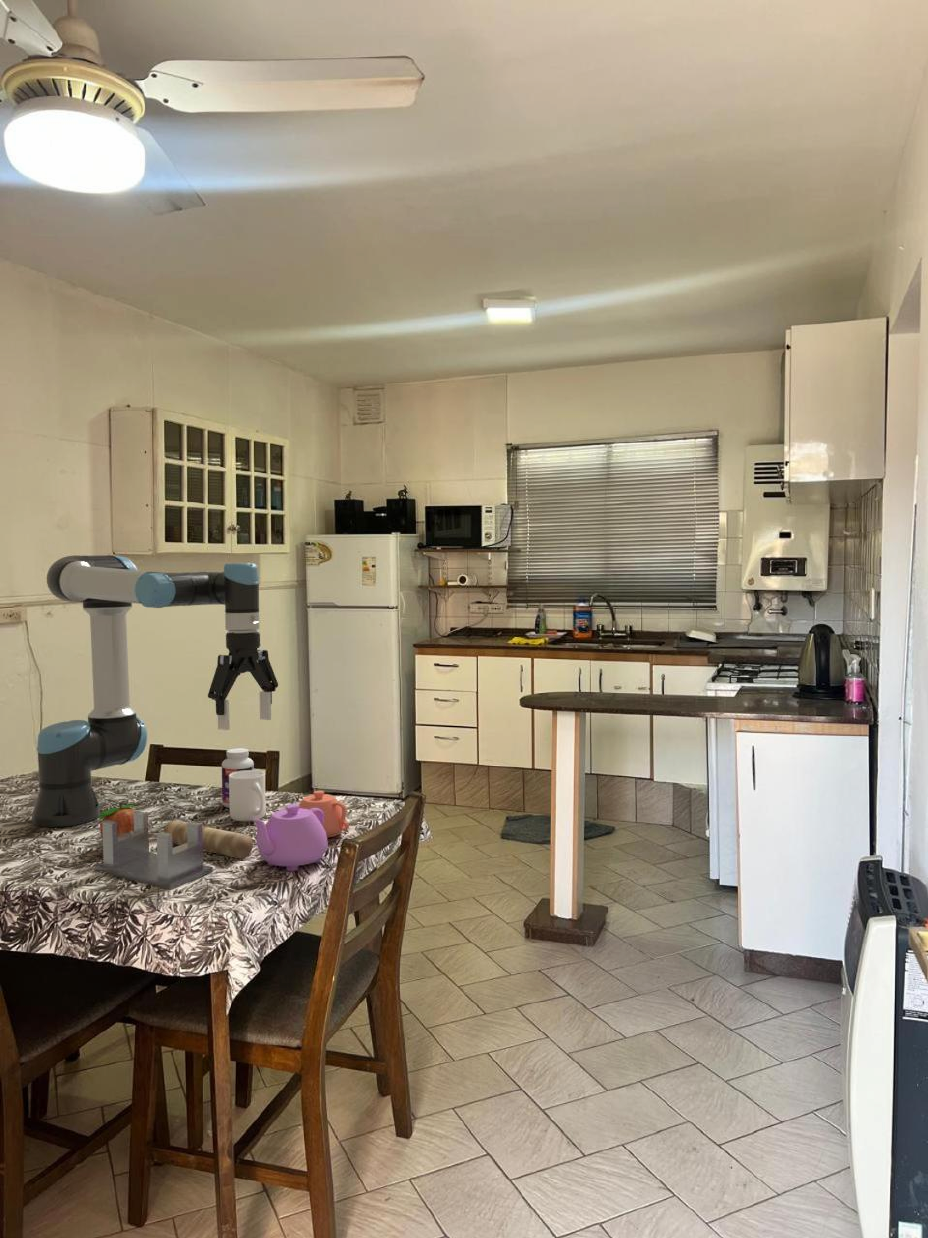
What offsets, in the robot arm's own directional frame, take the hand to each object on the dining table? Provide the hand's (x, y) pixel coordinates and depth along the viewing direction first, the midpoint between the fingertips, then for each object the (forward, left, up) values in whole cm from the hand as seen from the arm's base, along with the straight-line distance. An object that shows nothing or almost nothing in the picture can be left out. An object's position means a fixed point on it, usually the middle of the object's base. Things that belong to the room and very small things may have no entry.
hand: (245, 724), depth 197 cm
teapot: (+21, -9, -26) cm, 35 cm away
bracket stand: (-1, -26, -26) cm, 37 cm away
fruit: (-19, -19, -26) cm, 38 cm away
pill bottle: (-20, +18, -26) cm, 37 cm away
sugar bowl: (+15, +9, -26) cm, 31 cm away
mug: (-9, +11, -26) cm, 30 cm away
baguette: (-1, -11, -26) cm, 28 cm away
